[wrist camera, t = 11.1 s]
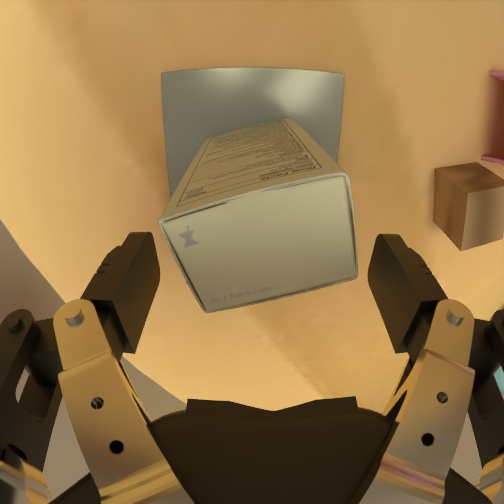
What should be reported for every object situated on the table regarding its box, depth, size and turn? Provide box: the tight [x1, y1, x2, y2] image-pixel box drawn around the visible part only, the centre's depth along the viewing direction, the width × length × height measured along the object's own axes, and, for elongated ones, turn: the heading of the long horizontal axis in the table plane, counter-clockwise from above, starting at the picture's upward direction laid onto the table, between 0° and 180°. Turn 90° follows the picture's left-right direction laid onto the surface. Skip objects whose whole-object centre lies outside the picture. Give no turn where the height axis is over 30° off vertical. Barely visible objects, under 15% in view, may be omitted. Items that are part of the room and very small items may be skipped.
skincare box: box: [158, 118, 358, 313], centre depth 15 cm, size 6×4×12 cm
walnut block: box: [433, 162, 504, 251], centre depth 20 cm, size 5×5×5 cm
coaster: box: [161, 68, 345, 197], centre depth 20 cm, size 12×12×1 cm
